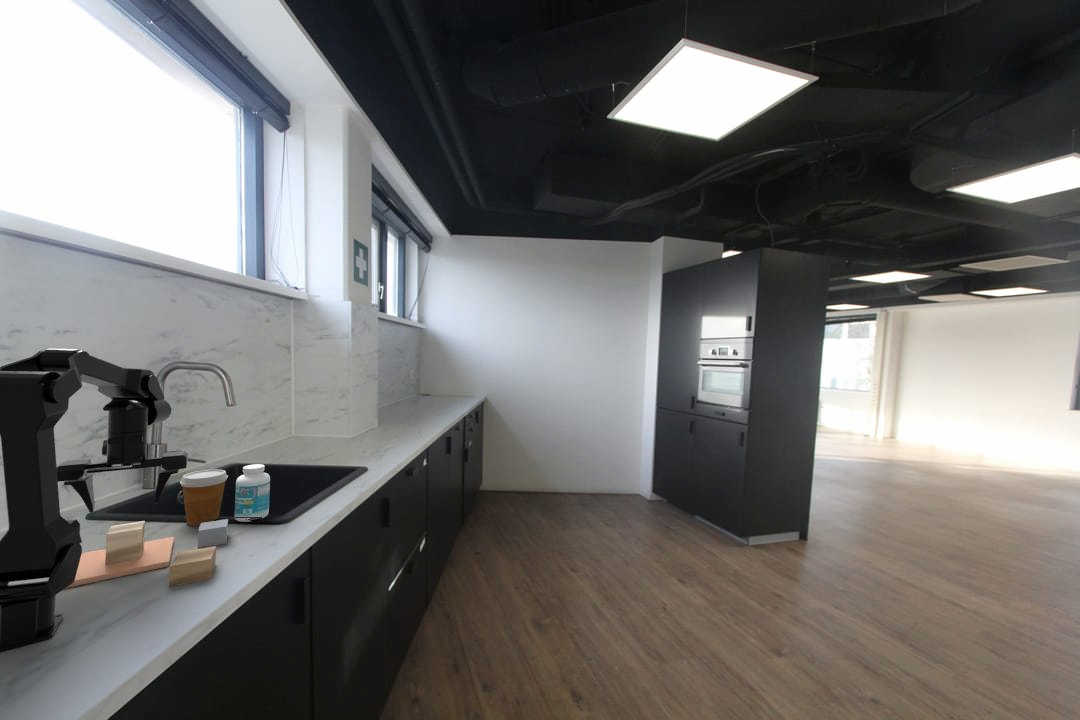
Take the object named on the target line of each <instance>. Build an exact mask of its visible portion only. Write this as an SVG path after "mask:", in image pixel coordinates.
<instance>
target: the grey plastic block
mask: <svg viewBox="0 0 1080 720" xmlns="http://www.w3.org/2000/svg"><path fill="white" fill-rule="evenodd" d="M228 525H229V519H228V518H225V519H218V520H216V521H211V522H204V523H201V524H200V525H199V527H198V535H197V549H202V548H208V547H214V546H219V545H224V544H227V542H228V541H227V540H228V533H229V530H228V529H229V526H228Z"/></svg>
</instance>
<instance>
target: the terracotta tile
mask: <svg viewBox="0 0 1080 720" xmlns="http://www.w3.org/2000/svg"><path fill="white" fill-rule="evenodd" d="M174 541H175V537H174V536H169V537H165V538H159V539H153V540H149V541H148V540H147V541H144V550H143V553H142V556H141V558H140V559H135V560H130V561H125V562H120V563H115V564H110V565H105V558H106V548H104V549H103V548H102V549H98V550H93V551H87V552H86V551H85V552H82V554H81V558H80V562H79V566H78V569H77V573H76V577H75V581H74V582H73V583H72V584H71V585H69V586H68V587H66V588H65V589H68V588H72V587H76V586H81V585H86V584H91V583H95V582H101V581H104V580H109V579H115V578H119V577H125V576H128V575H133V574H134V575H135V574H138V573H144V572H147V571H153V570H156V569H161V568H162V569H163V568H166V567H169V566H170V562H171V557H172V553H173V552H172V551H173V547H174Z"/></svg>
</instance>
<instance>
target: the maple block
mask: <svg viewBox="0 0 1080 720" xmlns="http://www.w3.org/2000/svg"><path fill="white" fill-rule="evenodd" d="M145 527H146V521H145V520H141V521H135V522H129V523H124V524H123V523H122V524H116V525H111V526H110V528H109V529H108V531H107V533H106V534H105V535H106V536H105V537H106V538H105V549H106V558H105V565H110V564H115V563H120V562H125V561H130V560H135V559H140V558H141V556H142V553H143V550H144V542H145V534H146V533H145V530H146V529H145Z"/></svg>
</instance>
